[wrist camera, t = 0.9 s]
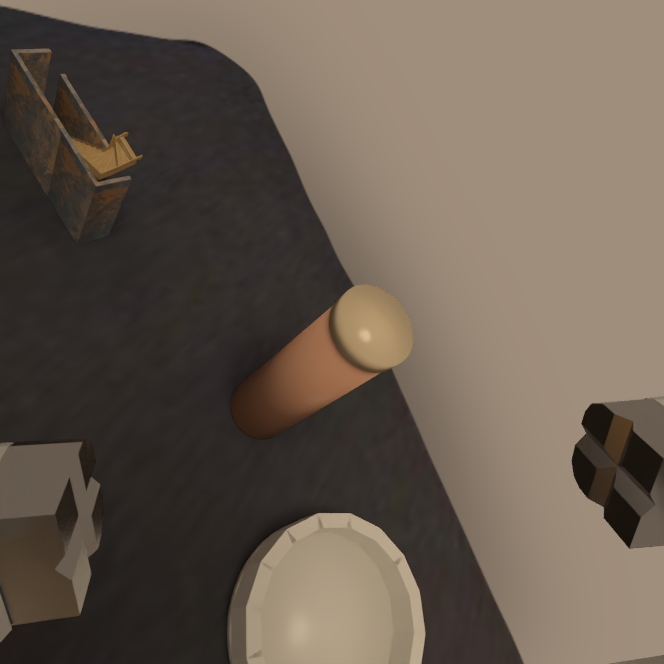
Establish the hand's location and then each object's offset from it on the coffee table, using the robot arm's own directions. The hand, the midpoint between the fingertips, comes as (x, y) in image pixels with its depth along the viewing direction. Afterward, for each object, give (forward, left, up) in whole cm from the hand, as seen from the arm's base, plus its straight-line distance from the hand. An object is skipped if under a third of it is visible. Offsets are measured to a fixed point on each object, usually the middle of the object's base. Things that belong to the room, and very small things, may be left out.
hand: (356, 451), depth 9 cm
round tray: (+15, +10, -31) cm, 36 cm away
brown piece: (-23, +18, -32) cm, 43 cm away
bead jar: (+1, +18, -31) cm, 36 cm away
